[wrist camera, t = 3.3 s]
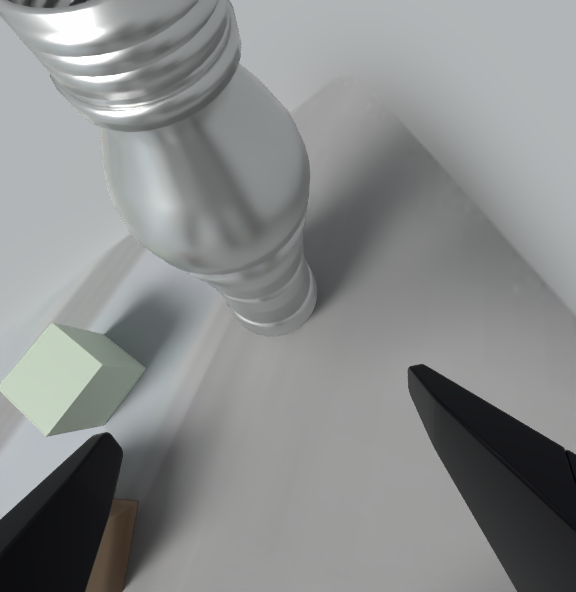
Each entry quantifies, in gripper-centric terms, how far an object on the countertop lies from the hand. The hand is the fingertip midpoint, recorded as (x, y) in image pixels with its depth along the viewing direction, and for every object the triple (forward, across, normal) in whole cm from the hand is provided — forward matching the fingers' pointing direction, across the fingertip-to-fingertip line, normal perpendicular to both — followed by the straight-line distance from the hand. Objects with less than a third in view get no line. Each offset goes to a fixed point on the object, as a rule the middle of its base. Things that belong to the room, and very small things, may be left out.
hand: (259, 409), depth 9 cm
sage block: (+12, +15, +6) cm, 20 cm away
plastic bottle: (+15, 0, +4) cm, 15 cm away
